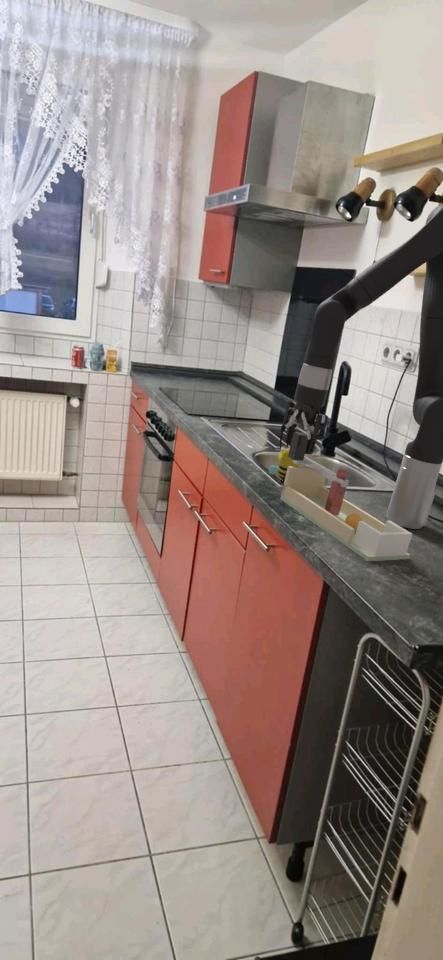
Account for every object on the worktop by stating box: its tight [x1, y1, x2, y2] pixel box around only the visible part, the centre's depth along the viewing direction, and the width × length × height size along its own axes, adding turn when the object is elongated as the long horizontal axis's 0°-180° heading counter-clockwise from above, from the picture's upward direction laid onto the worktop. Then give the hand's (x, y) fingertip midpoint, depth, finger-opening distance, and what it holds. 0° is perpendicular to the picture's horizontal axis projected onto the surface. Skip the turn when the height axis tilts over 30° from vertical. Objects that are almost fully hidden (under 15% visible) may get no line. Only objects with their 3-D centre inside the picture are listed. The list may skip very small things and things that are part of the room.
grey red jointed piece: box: [288, 431, 350, 515], centre depth 150 cm, size 6×18×15 cm, turn 28°
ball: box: [345, 513, 363, 531], centre depth 140 cm, size 4×4×4 cm
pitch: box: [279, 466, 413, 562], centre depth 143 cm, size 12×34×9 cm, turn 28°
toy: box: [268, 423, 301, 483], centre depth 171 cm, size 6×14×15 cm
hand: (297, 448), depth 153 cm, fingers open, 8 cm apart
